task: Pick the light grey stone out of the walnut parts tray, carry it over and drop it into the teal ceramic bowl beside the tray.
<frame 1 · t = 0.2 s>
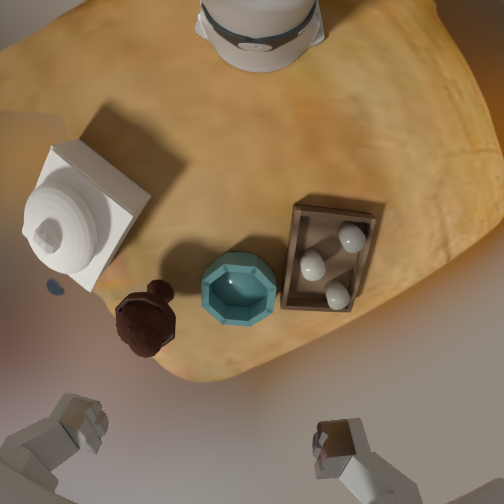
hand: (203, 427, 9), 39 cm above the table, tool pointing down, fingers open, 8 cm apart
pebble b: (347, 231, 46), resting on tray
pebble c: (334, 288, 51), resting on tray
ice cream bowl: (160, 291, 53), on the table
pebble a: (310, 258, 48), resting on tray
tray: (323, 258, 49), on the table
butter dish: (93, 205, 46), on the table
bowl: (239, 282, 52), on the table
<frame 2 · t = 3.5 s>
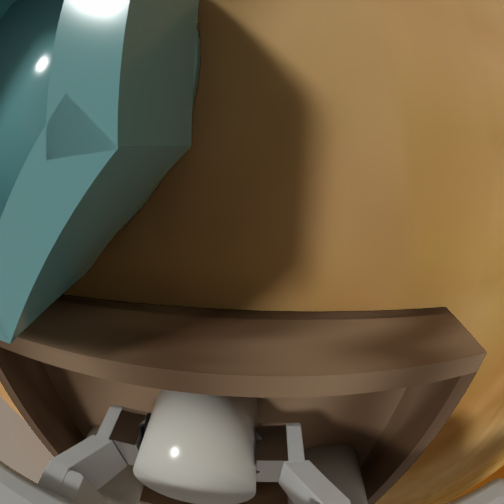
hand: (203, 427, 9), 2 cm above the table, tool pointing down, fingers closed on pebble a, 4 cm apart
pebble b: (321, 461, 12), resting on tray
pebble c: (120, 444, 12), resting on tray
pebble a: (208, 400, 10), resting on tray, touching gripper
tray: (213, 425, 12), on the table
bowl: (37, 96, 7), on the table
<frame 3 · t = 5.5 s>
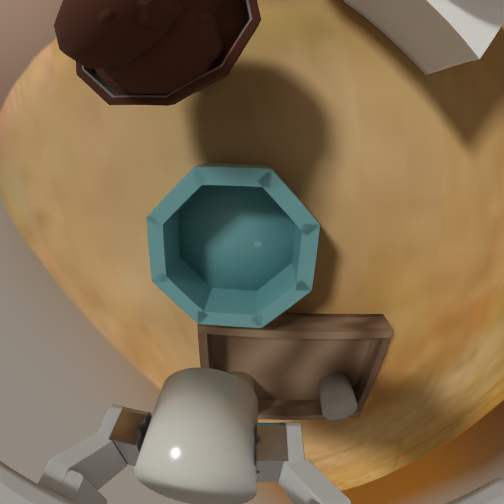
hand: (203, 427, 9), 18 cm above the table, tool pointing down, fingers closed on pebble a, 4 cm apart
pebble b: (334, 384, 30), resting on tray
pebble c: (238, 383, 30), resting on tray
ice cream bowl: (195, 60, 20), on the table
pebble a: (209, 401, 10), point 16 cm above the table, touching gripper
tray: (290, 363, 30), on the table
bowl: (236, 234, 25), on the table
when the fingers open (6 cm above the table, at t = 7.3 s): pebble a drops 3 cm, resting on bowl.
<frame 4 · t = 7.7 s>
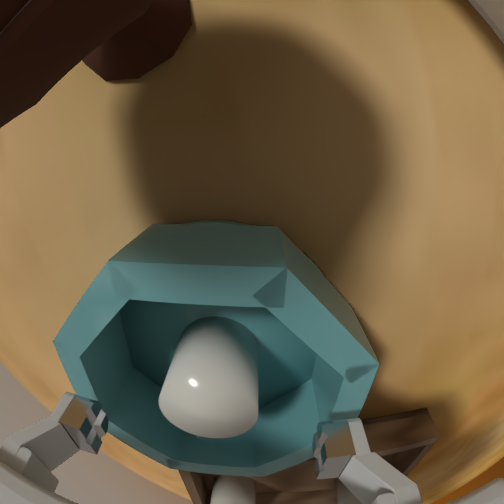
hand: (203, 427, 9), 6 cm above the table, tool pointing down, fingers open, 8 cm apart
pebble b: (354, 476, 19), resting on tray
pebble c: (234, 482, 20), resting on tray
ice cream bowl: (134, 28, 9), on the table
pebble a: (218, 349, 13), point 1 cm above the table, touching bowl
tray: (300, 465, 19), on the table
bowl: (219, 338, 14), on the table
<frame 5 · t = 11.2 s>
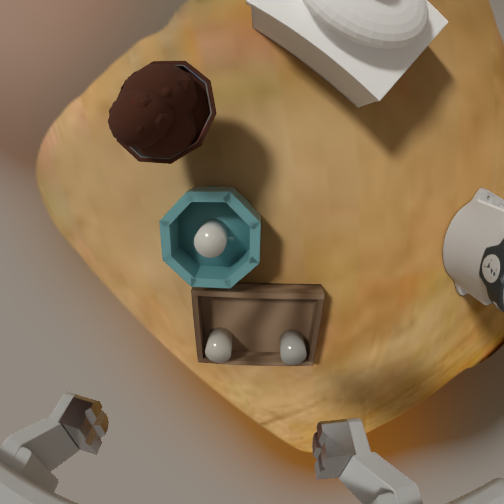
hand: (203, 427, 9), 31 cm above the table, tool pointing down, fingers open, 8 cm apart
pebble b: (291, 339, 44), point 1 cm above the table, touching tray
pebble c: (221, 337, 44), resting on tray
ice cream bowl: (184, 118, 34), on the table
pebble a: (214, 232, 38), point 1 cm above the table, touching bowl
tray: (256, 321, 44), on the table
butter dish: (341, 27, 29), on the table
bowl: (214, 230, 39), on the table
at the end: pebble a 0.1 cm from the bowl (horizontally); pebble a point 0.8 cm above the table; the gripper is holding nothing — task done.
